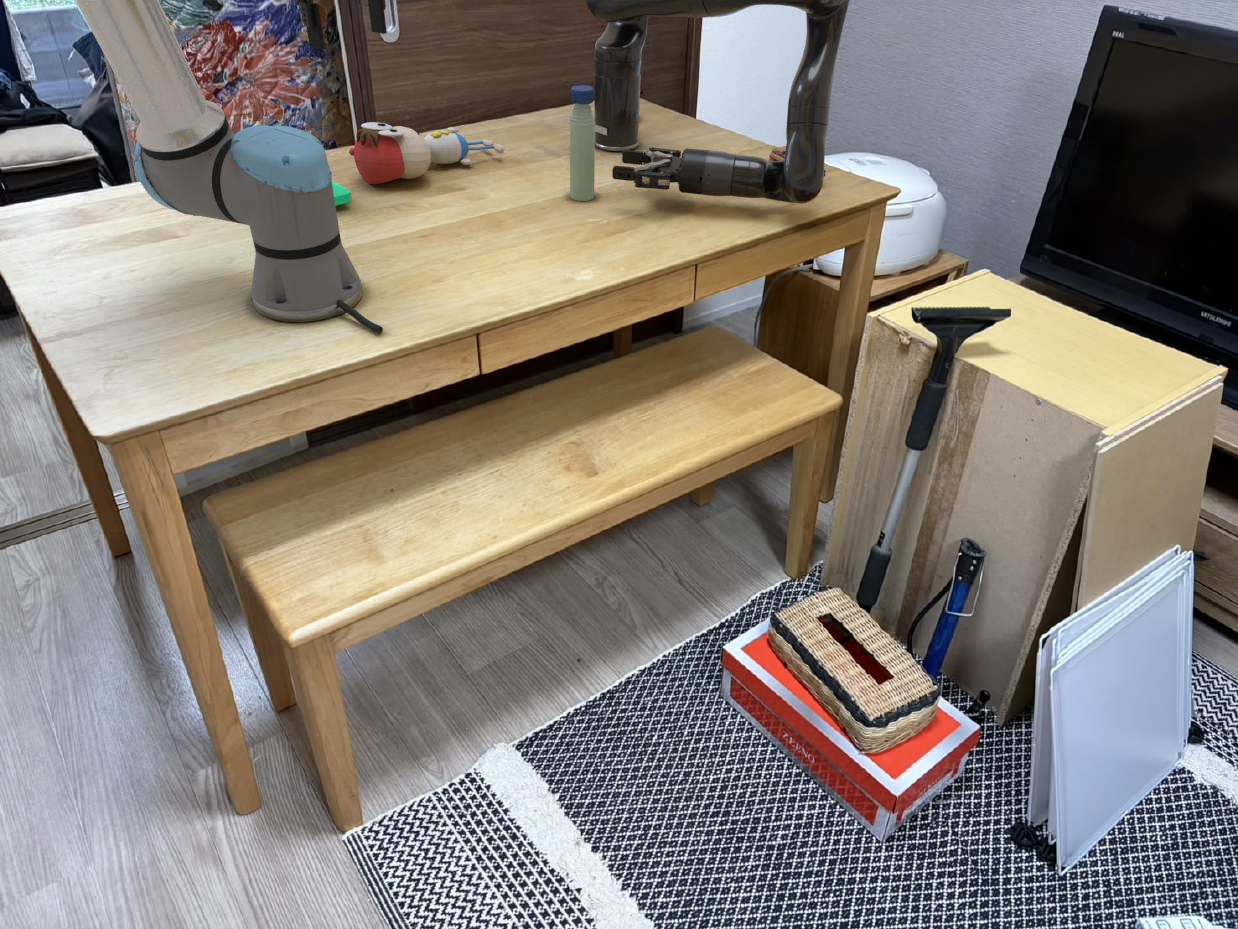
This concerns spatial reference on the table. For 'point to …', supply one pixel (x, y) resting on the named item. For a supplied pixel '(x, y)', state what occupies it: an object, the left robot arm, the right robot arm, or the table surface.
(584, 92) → the cap
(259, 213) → the left robot arm
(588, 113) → the bottle
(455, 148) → the toy
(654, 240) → the table surface
